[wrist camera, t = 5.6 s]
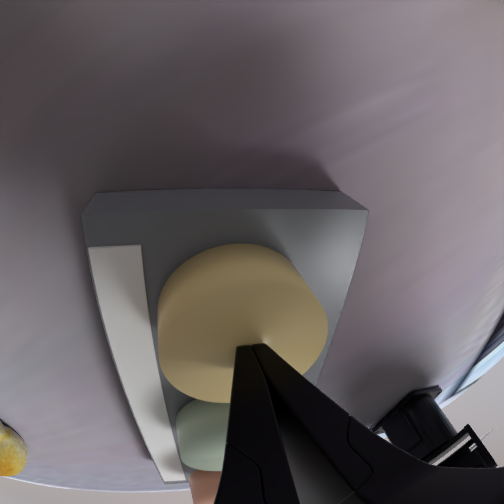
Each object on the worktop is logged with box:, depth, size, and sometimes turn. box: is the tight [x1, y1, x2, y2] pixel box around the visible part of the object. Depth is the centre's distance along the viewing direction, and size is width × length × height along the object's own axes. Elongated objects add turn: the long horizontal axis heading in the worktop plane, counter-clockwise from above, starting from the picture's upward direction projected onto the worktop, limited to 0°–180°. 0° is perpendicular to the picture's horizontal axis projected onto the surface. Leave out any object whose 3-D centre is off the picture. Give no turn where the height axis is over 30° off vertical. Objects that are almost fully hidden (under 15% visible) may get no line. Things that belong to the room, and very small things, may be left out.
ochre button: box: [157, 244, 328, 403], centre depth 9 cm, size 5×5×2 cm
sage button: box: [176, 399, 230, 471], centre depth 13 cm, size 5×5×2 cm
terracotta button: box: [189, 470, 222, 504], centre depth 15 cm, size 5×5×2 cm
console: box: [81, 188, 369, 484], centre depth 14 cm, size 9×21×2 cm, turn 175°
